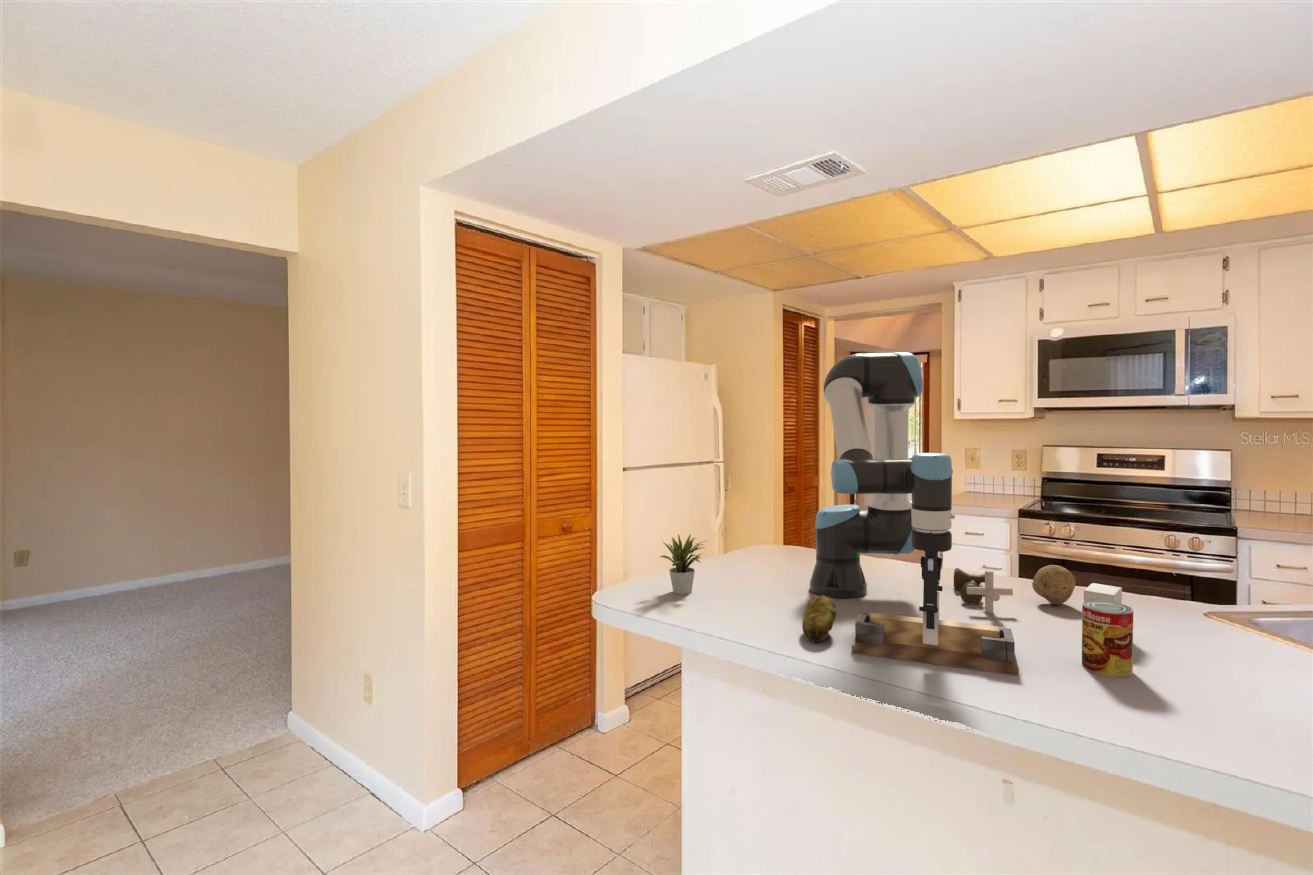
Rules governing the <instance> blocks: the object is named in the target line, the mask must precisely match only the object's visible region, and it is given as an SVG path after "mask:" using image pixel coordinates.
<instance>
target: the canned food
mask: <svg viewBox="0 0 1313 875" xmlns="http://www.w3.org/2000/svg"><path fill="white" fill-rule="evenodd" d="M1081 604H1082V605H1081V606H1082V607H1081V609H1082V610H1081V611H1082V612H1081V622H1082V623H1081V666H1082V667H1083V668H1084V669H1086V670H1087V671H1089V672H1092V673H1094V674H1097V675H1100V676H1104V677H1111V678H1112V677H1113V678H1128V677H1130V676H1133V674H1134V673H1133V672H1134V671H1133V670H1134V669H1133V667H1134V609H1133V608H1132V606H1129V605H1126V604H1123V603H1122V604H1120V603H1115V602H1110V601H1100V600H1090V601H1085V602H1084V601H1083V602H1082V603H1081Z"/></svg>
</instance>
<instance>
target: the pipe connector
mask: <svg viewBox="0 0 1313 875" xmlns="http://www.w3.org/2000/svg"><path fill="white" fill-rule="evenodd" d="M984 574H985V583H984V582H982V583H980V585H979V587H966V592H967V594H979V595H983V596H984V612H985V613H988V614H993V613H994V602H998V601H1000V599H1001V596H1013V595H1014V591H1013V587H994V571H993V570H990V569H986V570H984Z"/></svg>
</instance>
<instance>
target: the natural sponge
mask: <svg viewBox="0 0 1313 875" xmlns="http://www.w3.org/2000/svg"><path fill="white" fill-rule="evenodd" d="M1031 583H1032V584H1031V585H1032V588H1033V591H1034V592H1035V593H1036V594H1037V595H1039V596H1040V597H1041V598H1044V599H1045V600H1046V601H1048V603H1051V605H1055V606H1060V605H1062V604H1064V603H1066V602H1067V601H1068V600H1069V599H1070V598H1071V597H1072V595H1073V592H1074V590H1075V588H1076V578H1075V576H1074V575H1073V573H1072V572H1071V571H1070V570H1069V569H1067V568H1065V567H1064V566H1061V565H1056V564H1049V565H1046V566H1043V567H1041V568H1039V569H1038V570H1037V572H1036V573H1035V575H1034V577H1033V580H1032V582H1031Z"/></svg>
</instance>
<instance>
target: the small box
mask: <svg viewBox="0 0 1313 875" xmlns="http://www.w3.org/2000/svg"><path fill="white" fill-rule="evenodd" d="M1122 595H1123V587H1121V586H1113V585H1107V584H1101V583H1095V582H1092V583H1090V584H1089V585H1088V586H1087V587H1086V588H1085V589H1084V590H1083V602H1085V601H1090V600H1100V601H1110V602H1115V603H1120V604H1123V602H1122V601H1123V598H1122V597H1123V596H1122Z"/></svg>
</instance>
